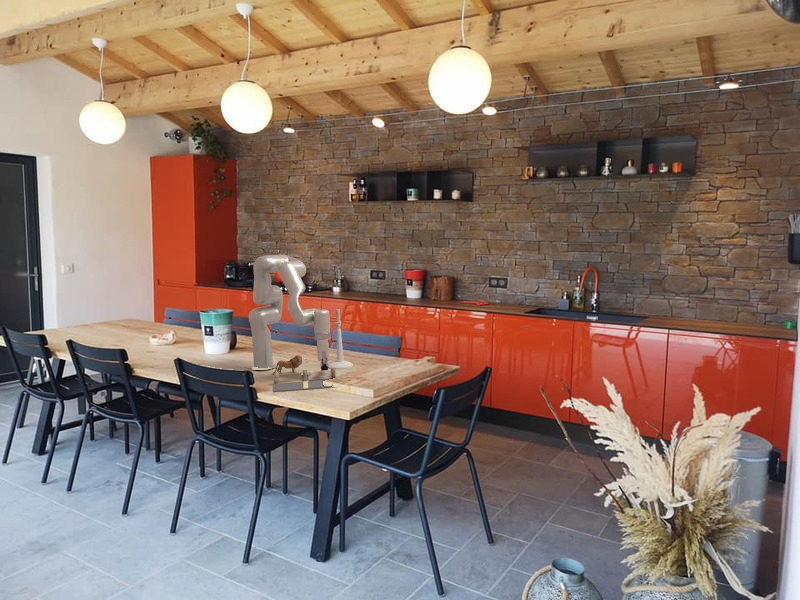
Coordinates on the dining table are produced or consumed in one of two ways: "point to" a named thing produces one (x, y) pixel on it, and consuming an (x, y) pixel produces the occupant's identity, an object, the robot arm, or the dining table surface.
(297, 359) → the lion figurine
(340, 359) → the candlestick
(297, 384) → the board
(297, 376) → the fence fixed
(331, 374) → the fence gate
